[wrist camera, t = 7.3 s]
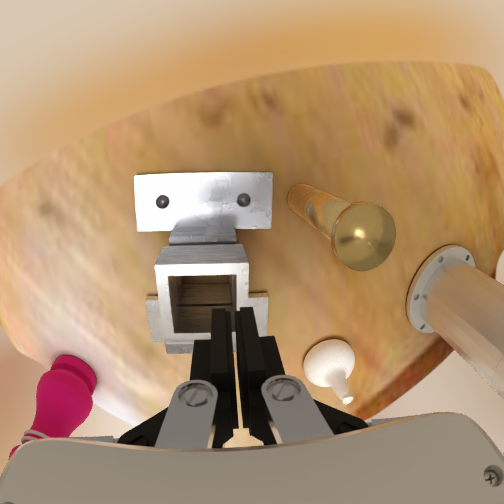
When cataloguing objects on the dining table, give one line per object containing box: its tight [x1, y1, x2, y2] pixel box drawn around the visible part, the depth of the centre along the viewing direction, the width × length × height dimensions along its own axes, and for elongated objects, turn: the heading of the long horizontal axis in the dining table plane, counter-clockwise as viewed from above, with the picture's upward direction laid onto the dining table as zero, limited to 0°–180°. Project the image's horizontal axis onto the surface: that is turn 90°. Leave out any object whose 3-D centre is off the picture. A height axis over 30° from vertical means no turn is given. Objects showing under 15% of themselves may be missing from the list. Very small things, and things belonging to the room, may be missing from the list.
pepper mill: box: [9, 355, 97, 459], centre depth 21 cm, size 7×7×20 cm
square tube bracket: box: [145, 244, 269, 353], centre depth 25 cm, size 12×12×8 cm
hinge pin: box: [287, 184, 396, 271], centre depth 21 cm, size 4×4×13 cm
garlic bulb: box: [303, 339, 355, 404], centre depth 31 cm, size 6×6×8 cm
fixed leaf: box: [134, 172, 273, 307], centre depth 25 cm, size 12×11×4 cm
